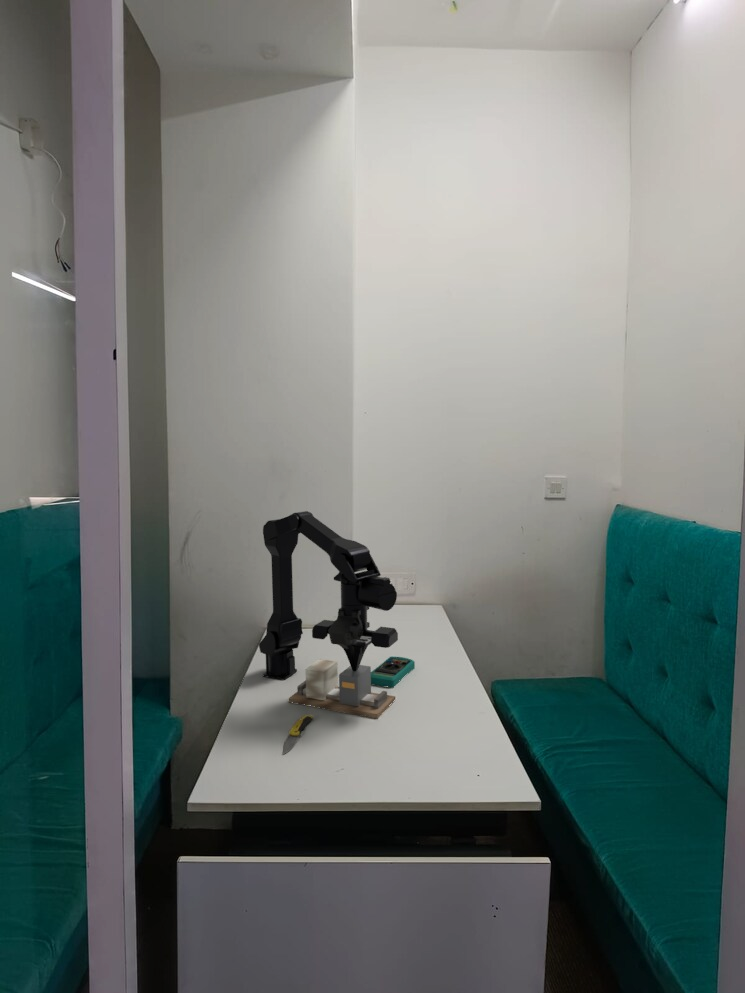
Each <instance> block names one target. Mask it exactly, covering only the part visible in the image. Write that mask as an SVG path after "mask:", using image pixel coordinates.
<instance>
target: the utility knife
mask: <svg viewBox="0 0 745 993" xmlns="http://www.w3.org/2000/svg"><path fill="white" fill-rule="evenodd" d="M313 720H314V716H313V715H312V714H307V715H303V716H301V717H300V719H298V720H297V721H296V722H295V723H294V724H293V726H292V728H290V730H289V732H288V735H287V737H286V739H285V741H284V743H283V750H282V755H284V754H286V753H288V752H290V751H291V750H292V749H293V748H294V746H295V745H296V743H297V741H298V740H299V739H301V738H302V732H303V731H305V729H306V727H307V726H309V724H310V723H311V722H312V721H313Z"/></svg>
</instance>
